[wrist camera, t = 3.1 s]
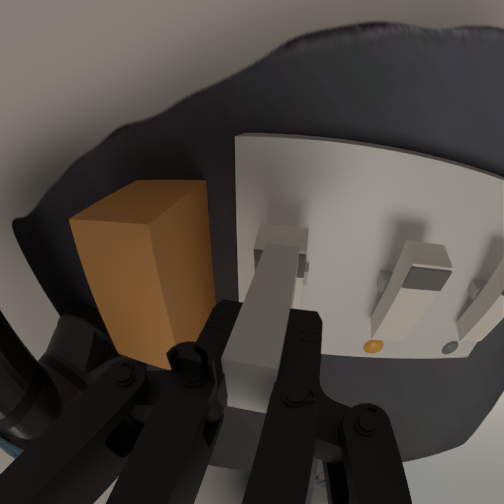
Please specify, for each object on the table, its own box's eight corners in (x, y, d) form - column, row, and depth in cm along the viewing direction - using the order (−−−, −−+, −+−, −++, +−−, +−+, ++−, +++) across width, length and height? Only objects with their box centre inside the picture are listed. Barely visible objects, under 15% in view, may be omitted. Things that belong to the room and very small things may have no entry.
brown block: (159, 297, 27) (118, 353, 20) (137, 180, 21) (68, 219, 14) (216, 307, 25) (184, 374, 19) (206, 180, 19) (148, 224, 13)
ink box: (364, 454, 39) (361, 505, 29) (344, 460, 41) (339, 508, 31) (337, 446, 38) (331, 503, 28) (317, 452, 40) (309, 505, 30)
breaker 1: (263, 307, 20) (259, 329, 19) (260, 223, 15) (253, 248, 14) (298, 311, 20) (295, 334, 19) (308, 228, 14) (306, 253, 13)
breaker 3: (455, 322, 17) (459, 343, 16) (505, 254, 12) (515, 277, 11) (476, 323, 17) (481, 342, 16) (525, 258, 11) (535, 279, 10)
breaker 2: (370, 318, 19) (371, 341, 18) (406, 239, 13) (413, 265, 12) (400, 320, 18) (402, 342, 17) (444, 245, 13) (453, 270, 12)
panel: (247, 323, 26) (237, 352, 23) (245, 132, 17) (229, 138, 14) (460, 339, 21) (470, 365, 18) (522, 184, 13) (547, 199, 10)
